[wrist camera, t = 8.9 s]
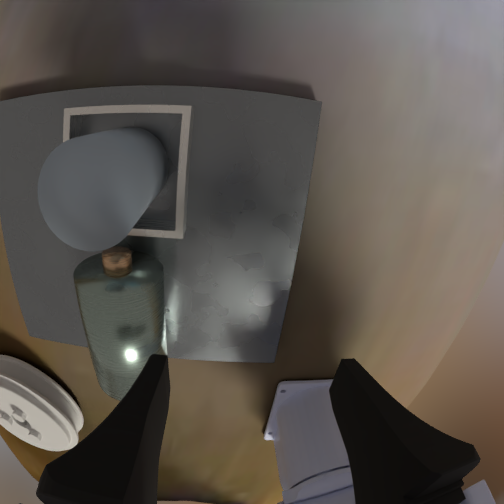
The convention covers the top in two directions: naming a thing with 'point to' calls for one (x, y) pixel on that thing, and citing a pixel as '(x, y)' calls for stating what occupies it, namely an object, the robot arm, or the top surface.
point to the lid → (37, 407)
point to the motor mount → (165, 226)
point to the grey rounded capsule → (101, 186)
